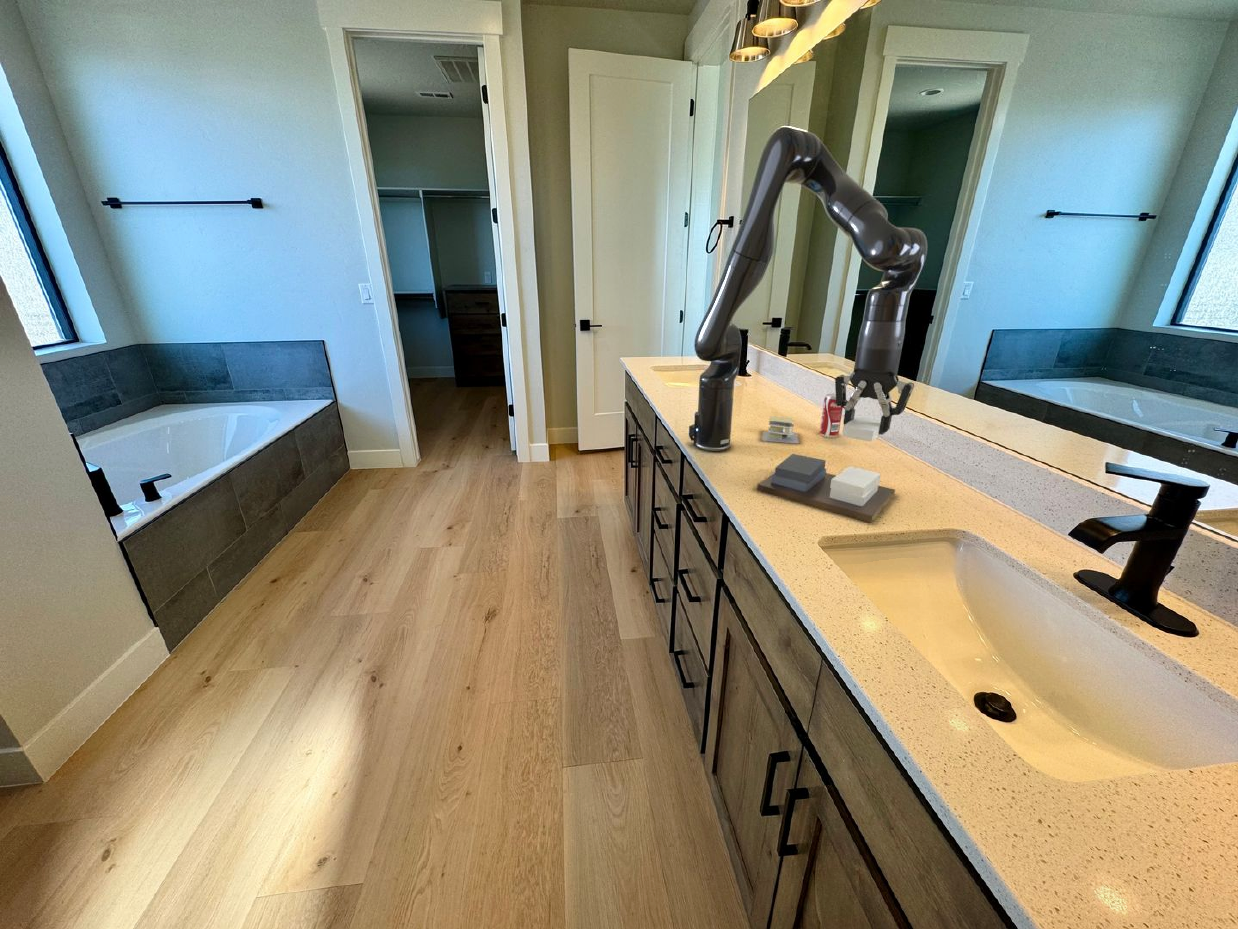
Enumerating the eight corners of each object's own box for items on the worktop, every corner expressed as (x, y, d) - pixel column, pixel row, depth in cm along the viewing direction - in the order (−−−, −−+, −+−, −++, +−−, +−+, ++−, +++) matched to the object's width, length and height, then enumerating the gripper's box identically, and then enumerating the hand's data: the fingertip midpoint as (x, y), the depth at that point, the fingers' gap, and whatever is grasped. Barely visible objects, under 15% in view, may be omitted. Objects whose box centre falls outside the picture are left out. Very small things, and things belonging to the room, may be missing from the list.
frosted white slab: (841, 436, 97) (843, 425, 96) (858, 424, 104) (859, 414, 103) (871, 441, 93) (873, 430, 93) (886, 429, 100) (888, 419, 99)
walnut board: (756, 490, 110) (757, 483, 109) (787, 469, 121) (788, 463, 120) (871, 523, 95) (872, 516, 94) (894, 495, 106) (895, 489, 105)
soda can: (817, 432, 148) (822, 392, 143) (835, 432, 147) (841, 393, 142) (821, 437, 143) (827, 397, 138) (840, 438, 142) (846, 397, 138)
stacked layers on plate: (761, 440, 141) (763, 422, 139) (762, 431, 149) (764, 414, 147) (798, 443, 138) (801, 424, 136) (797, 434, 146) (799, 416, 144)
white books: (828, 497, 102) (830, 479, 101) (844, 482, 109) (847, 465, 108) (862, 506, 98) (866, 488, 97) (878, 490, 105) (881, 473, 104)
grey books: (770, 483, 110) (772, 466, 108) (791, 468, 117) (793, 452, 116) (807, 493, 104) (809, 475, 103) (826, 477, 112) (829, 460, 111)
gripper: (927, 345, 90) (909, 433, 97) (846, 339, 99) (835, 420, 105) (917, 350, 85) (899, 442, 91) (833, 344, 94) (821, 428, 100)
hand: (864, 430), depth 98 cm, fingers closed on frosted white slab, 5 cm apart
